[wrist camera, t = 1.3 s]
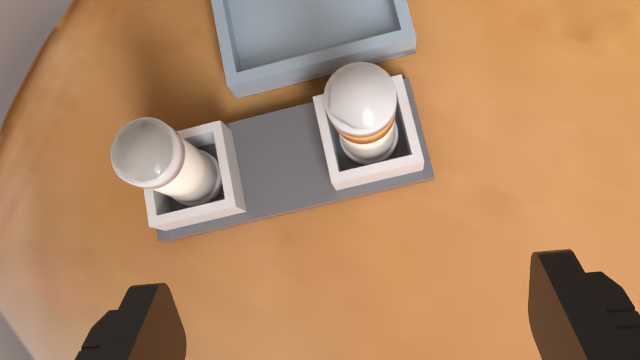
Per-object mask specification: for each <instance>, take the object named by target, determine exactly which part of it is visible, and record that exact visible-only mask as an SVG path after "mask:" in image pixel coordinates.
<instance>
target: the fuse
mask: <svg viewBox="0 0 640 360" xmlns="http://www.w3.org/2000/svg"><path fill="white" fill-rule="evenodd" d="M110 157H111V163H112V166H113V169H114V171H115V172H116V174H117V175H118V176H119V177H120V178H121V179H122V180H124V181H126V182H127V183H130V184H132V185H135V186H138V187H140V188H144V189H153V190H155V191H158V192H160V193H163V194H165V195H168V196H170V197H172V198H173V199H175V200H176V201H177V202H179V203H181V204H184V205H187V206H189V207H195V206H199V205H203V204H207V203H212V202H214V201H216V200H217V199H218V197H219V196H220V195H221V193H222V191H223V185H222V179H221V173H220V168H219V162H218V160H217V159H216V158H214V157H213V156H212V155H210V154H209V153H207V152H205V151H202V150H199V149H197V148H196V147H194V146H193V145H192V144H190V143H189V142H187V141H186V140H184V139H183V138H181V136H180V135H179V134H178V133H177V132H176V131H175V130H174V129H173V128H171V127H170V126H169V125H167V124H166V123H164V122H163V121H161V120H159V119H156V118H152V117H142V118H137V119H134V120H132V121H130V122H129V123H127V124H126V125H124V126H123V127H122V128H121V129H120V130H119V132H118V133H117V134H116V136H115V138H114V140H113V142H112V146H111V152H110Z"/></svg>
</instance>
